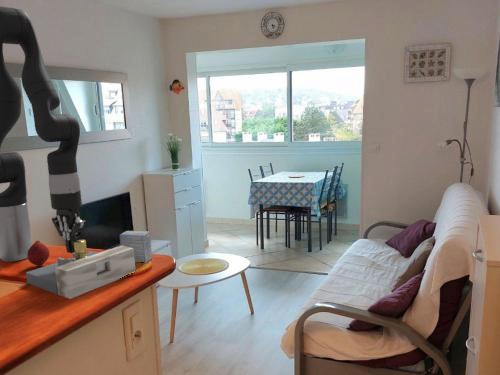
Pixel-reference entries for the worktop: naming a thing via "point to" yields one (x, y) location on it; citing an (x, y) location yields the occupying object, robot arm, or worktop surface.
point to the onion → (38, 253)
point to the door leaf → (48, 274)
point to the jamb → (94, 271)
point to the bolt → (84, 253)
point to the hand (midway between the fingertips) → (72, 252)
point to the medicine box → (138, 244)
